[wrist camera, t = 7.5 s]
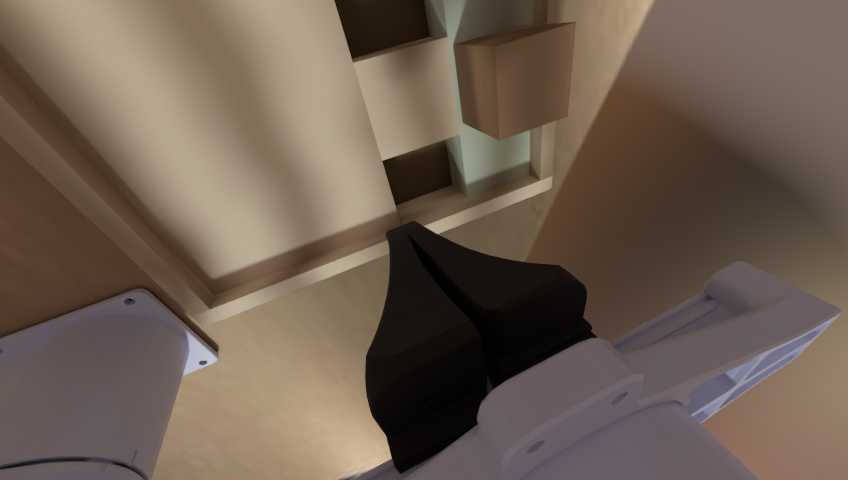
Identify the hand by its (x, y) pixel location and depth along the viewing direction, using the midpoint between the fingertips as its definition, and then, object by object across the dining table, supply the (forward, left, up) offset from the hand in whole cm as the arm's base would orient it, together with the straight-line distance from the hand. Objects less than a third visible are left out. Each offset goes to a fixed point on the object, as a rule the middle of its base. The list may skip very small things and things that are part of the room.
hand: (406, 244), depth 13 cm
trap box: (0, +4, -9) cm, 10 cm away
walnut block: (+8, +4, -7) cm, 11 cm away
